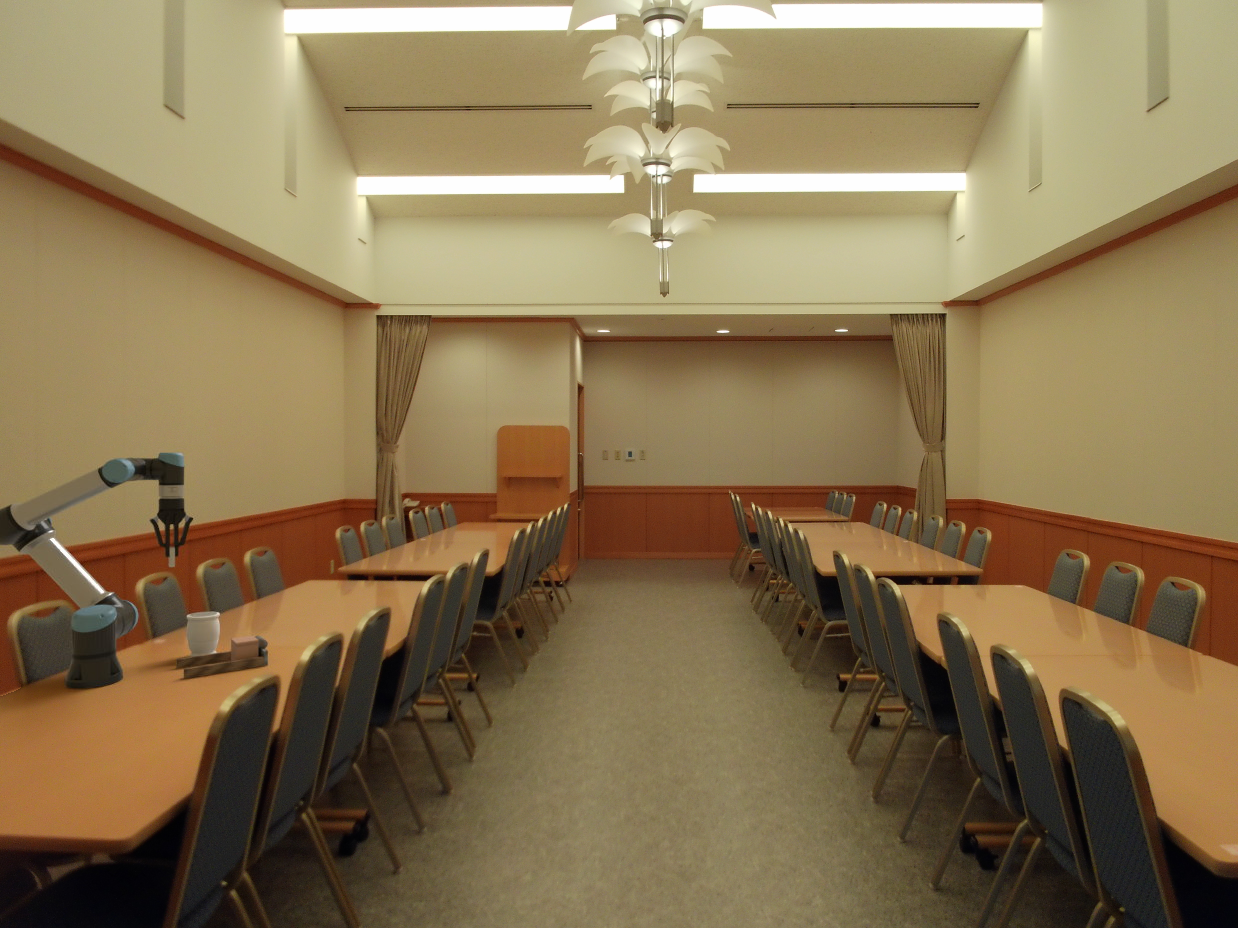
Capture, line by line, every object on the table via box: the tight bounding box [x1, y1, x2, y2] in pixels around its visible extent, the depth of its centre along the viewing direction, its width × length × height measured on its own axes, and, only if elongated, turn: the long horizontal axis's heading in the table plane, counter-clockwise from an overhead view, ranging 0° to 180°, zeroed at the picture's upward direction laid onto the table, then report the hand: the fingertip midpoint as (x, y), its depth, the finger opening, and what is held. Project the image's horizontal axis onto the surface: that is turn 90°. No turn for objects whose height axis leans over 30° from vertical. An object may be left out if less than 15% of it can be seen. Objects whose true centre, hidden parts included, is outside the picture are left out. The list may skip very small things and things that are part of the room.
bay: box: [176, 635, 269, 679], centre depth 255 cm, size 26×16×8 cm, turn 129°
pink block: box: [230, 635, 259, 661], centre depth 259 cm, size 7×8×8 cm
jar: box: [185, 611, 221, 657], centre depth 268 cm, size 11×10×15 cm
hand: (171, 566), depth 253 cm, fingers closed
